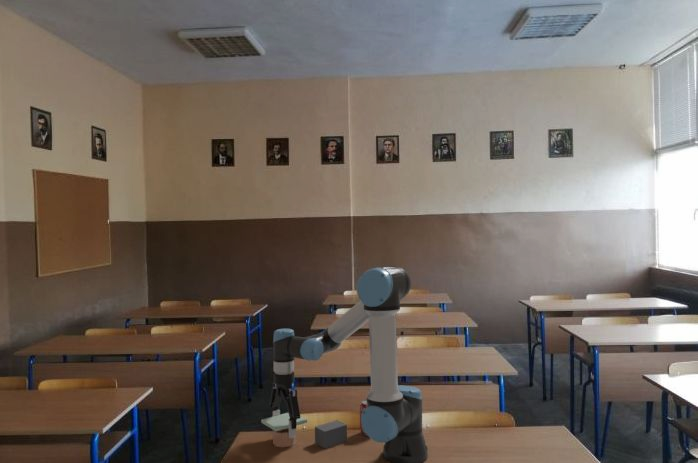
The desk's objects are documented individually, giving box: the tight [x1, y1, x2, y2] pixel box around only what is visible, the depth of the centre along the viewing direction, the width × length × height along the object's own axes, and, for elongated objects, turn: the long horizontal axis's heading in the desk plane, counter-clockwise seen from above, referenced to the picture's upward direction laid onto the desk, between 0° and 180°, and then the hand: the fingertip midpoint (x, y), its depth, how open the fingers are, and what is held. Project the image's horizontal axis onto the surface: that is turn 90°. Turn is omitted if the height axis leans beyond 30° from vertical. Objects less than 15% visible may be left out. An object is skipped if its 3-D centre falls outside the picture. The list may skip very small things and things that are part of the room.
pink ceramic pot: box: [272, 428, 297, 448], centre depth 181 cm, size 8×8×5 cm
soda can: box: [359, 399, 369, 437], centre depth 188 cm, size 7×7×12 cm
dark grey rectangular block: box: [314, 420, 348, 449], centre depth 180 cm, size 6×10×6 cm, turn 129°
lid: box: [260, 412, 308, 431], centre depth 181 cm, size 10×13×1 cm
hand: (284, 432), depth 181 cm, fingers closed on lid, 10 cm apart
